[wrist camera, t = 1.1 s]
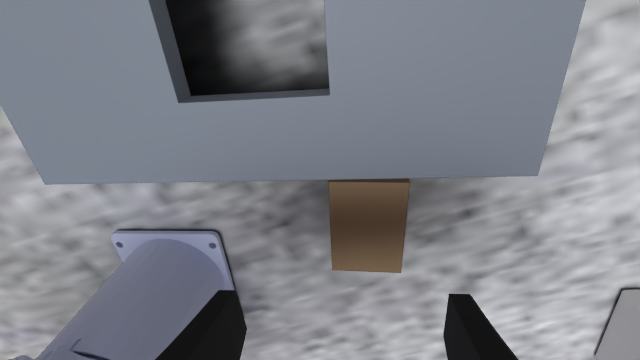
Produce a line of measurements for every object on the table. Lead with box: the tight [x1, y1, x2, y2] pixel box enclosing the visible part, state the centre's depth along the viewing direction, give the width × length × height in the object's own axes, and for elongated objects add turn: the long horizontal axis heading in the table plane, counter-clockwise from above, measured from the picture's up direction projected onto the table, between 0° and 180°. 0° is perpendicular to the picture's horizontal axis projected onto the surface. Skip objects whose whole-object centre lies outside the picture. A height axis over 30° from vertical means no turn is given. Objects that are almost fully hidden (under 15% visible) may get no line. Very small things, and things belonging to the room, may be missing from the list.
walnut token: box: [329, 178, 410, 273], centre depth 19 cm, size 6×4×3 cm, turn 3°
